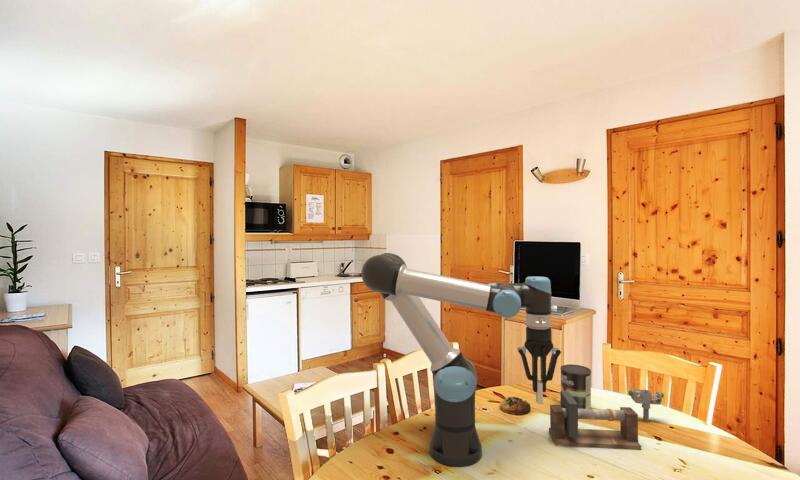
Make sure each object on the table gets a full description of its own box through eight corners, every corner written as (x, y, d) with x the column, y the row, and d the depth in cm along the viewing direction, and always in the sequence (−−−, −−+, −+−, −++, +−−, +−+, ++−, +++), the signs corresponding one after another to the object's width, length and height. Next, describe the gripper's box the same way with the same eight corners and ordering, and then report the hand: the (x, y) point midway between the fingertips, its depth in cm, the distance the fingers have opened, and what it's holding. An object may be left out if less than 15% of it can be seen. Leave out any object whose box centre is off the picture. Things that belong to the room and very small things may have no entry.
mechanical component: (664, 423, 136) (664, 393, 135) (630, 421, 138) (630, 391, 137) (660, 419, 138) (660, 390, 138) (627, 417, 141) (627, 388, 140)
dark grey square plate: (569, 437, 122) (569, 403, 122) (560, 421, 132) (560, 390, 132) (578, 437, 122) (577, 404, 121) (568, 422, 132) (568, 391, 131)
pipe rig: (556, 445, 123) (555, 413, 123) (548, 431, 132) (548, 401, 132) (641, 449, 120) (641, 416, 120) (627, 434, 129) (627, 403, 129)
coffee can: (574, 415, 143) (573, 375, 143) (554, 403, 153) (554, 366, 153) (598, 410, 146) (597, 371, 146) (577, 399, 156) (577, 363, 156)
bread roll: (536, 414, 144) (533, 400, 144) (505, 420, 143) (503, 406, 143) (524, 402, 155) (522, 389, 155) (496, 408, 154) (494, 394, 154)
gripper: (519, 329, 124) (519, 406, 125) (563, 329, 123) (564, 407, 123) (515, 323, 132) (516, 396, 132) (557, 324, 130) (558, 397, 131)
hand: (539, 401), depth 128 cm, fingers closed
